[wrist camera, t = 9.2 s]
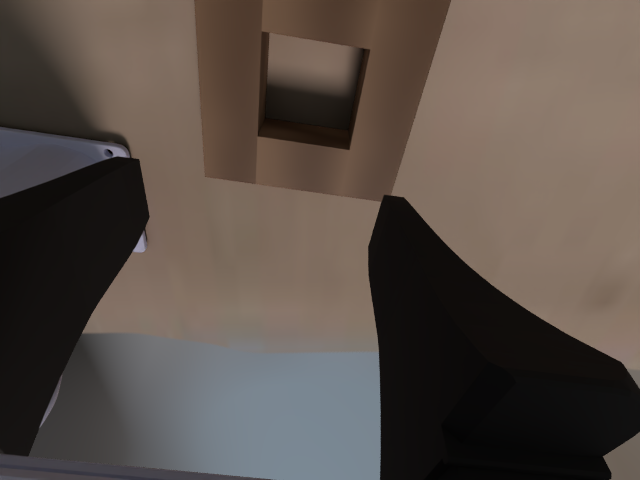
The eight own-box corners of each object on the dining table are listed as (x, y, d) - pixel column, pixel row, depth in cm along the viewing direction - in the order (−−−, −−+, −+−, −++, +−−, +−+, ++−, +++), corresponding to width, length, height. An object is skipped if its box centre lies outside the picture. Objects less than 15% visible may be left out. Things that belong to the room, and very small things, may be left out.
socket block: (216, 156, 22) (204, 176, 20) (209, -63, 15) (190, -65, 13) (383, 180, 22) (388, 202, 20) (441, -21, 16) (455, -16, 14)
